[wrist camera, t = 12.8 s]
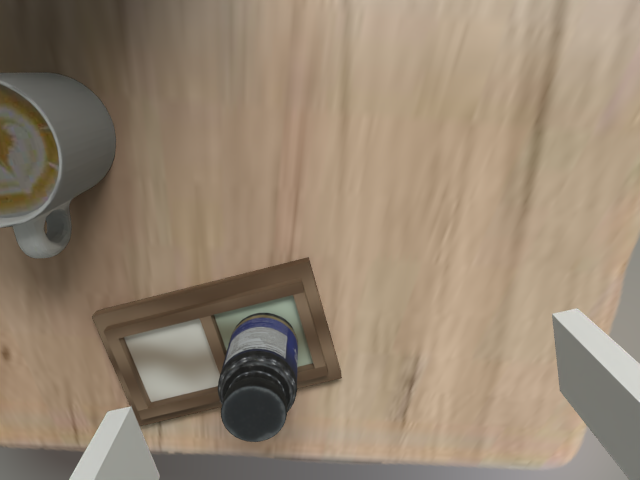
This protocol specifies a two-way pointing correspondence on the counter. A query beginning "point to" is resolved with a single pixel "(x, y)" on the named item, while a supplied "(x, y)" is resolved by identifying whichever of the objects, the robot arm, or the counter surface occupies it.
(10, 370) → the counter surface
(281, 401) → the pill bottle
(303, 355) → the divided wooden tray
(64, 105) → the coffee mug
